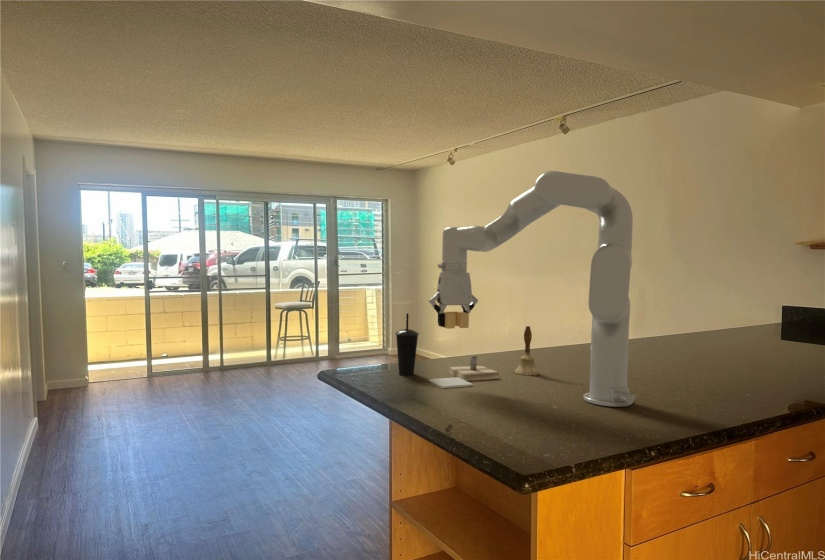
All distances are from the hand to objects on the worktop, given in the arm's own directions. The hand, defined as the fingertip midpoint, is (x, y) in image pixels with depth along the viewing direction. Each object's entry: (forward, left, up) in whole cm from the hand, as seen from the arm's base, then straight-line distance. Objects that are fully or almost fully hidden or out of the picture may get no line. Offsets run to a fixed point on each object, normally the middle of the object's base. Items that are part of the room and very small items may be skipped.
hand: (453, 325), depth 165 cm
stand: (+8, -11, -18) cm, 22 cm away
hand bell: (+7, -31, -18) cm, 37 cm away
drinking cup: (+17, +9, -18) cm, 26 cm away
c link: (0, 0, 0) cm, 0 cm away
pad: (0, +1, -18) cm, 18 cm away
